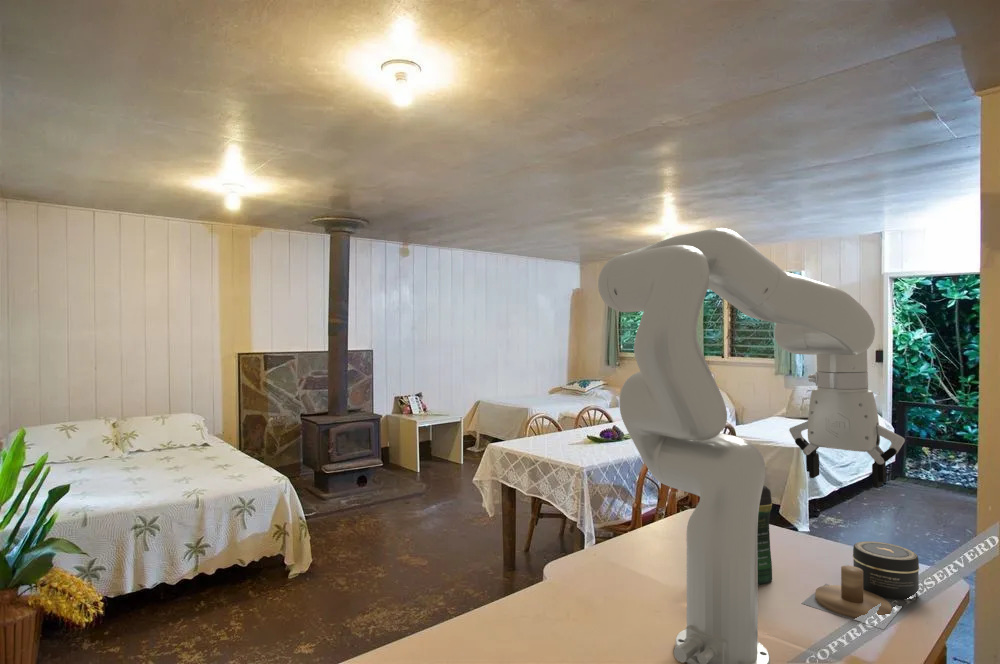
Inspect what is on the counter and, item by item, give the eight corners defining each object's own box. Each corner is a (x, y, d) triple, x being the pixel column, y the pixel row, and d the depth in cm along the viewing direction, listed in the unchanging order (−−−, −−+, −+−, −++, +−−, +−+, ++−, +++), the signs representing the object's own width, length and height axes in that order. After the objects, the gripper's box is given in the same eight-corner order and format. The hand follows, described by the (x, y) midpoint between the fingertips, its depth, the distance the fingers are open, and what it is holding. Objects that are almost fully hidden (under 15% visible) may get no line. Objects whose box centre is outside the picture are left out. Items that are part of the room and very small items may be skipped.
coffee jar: (780, 585, 106) (780, 485, 106) (745, 590, 103) (745, 488, 104) (743, 565, 115) (743, 473, 115) (710, 570, 112) (710, 476, 113)
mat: (884, 633, 88) (884, 629, 88) (801, 606, 97) (801, 603, 97) (903, 609, 96) (903, 606, 96) (825, 587, 105) (825, 583, 105)
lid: (881, 627, 89) (880, 588, 89) (805, 603, 97) (805, 568, 97) (899, 605, 96) (899, 570, 96) (827, 585, 104) (827, 552, 104)
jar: (854, 576, 110) (854, 536, 110) (918, 589, 104) (917, 547, 105) (851, 595, 102) (851, 552, 102) (921, 610, 96) (920, 564, 96)
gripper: (781, 381, 101) (783, 477, 101) (896, 386, 89) (899, 495, 89) (796, 378, 107) (799, 469, 106) (907, 382, 94) (910, 485, 94)
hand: (844, 481), depth 98 cm, fingers open, 9 cm apart
